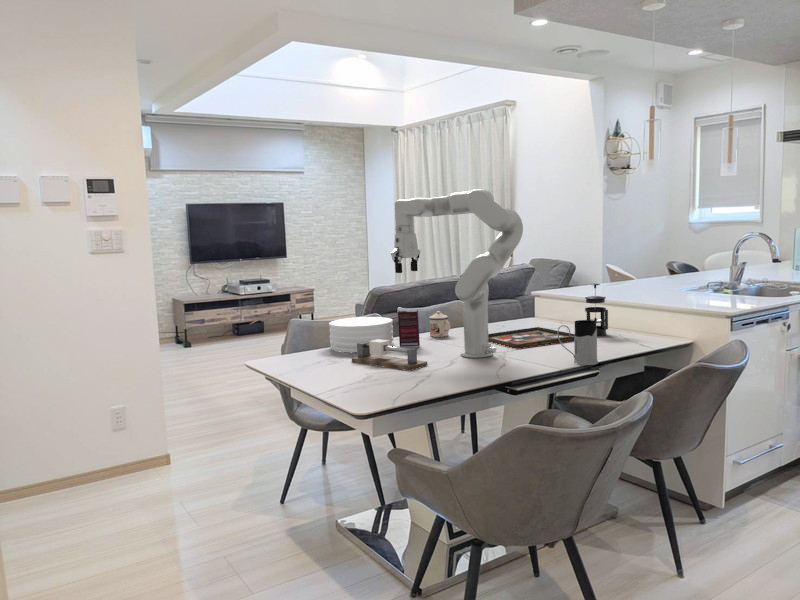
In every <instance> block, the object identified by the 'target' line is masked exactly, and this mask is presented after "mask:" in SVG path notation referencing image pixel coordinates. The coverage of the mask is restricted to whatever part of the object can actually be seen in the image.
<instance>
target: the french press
mask: <svg viewBox="0 0 800 600" xmlns="http://www.w3.org/2000/svg"><path fill="white" fill-rule="evenodd" d="M590 286H593V288H594V295H590V296H585V297H584V299H585V303H587V304H594V306H589V307H585V308H584V312H585V313H586V320H593V321H596V324H600V325H596V327H597V337H605V336H607V330H609V310H608V309H607V308H606V307H602V306H597V304H602V303H605V301H606V298H607V297H606V296H601V295H596V291H597V286H601V284H599V283H591V284H590ZM591 313H594V318H592V319H591ZM597 313H600V319H599V318H597Z"/></svg>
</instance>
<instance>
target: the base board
mask: <svg viewBox="0 0 800 600" xmlns="http://www.w3.org/2000/svg"><path fill="white" fill-rule="evenodd" d="M351 362H352V363H355V362H357V363H356V364H362V363H364V364H363V365H369V364H371V365H370V366H375V365H377V367H382V366H384V367H383V368H389V367H390V368H391V369H395V368H397V369H398V370H402V369H405V370H404V371H409V370H411V371H413V370H412V369H414V370H417V369H420V368H419V367H421V368H423V367H422V366H424V367H427V366H428V361H426V360H419V359H417V363H414V364H408V358H403V357H396V356H388V355H374V354H371V356H368V357H364V358H361V357H358V356H355V357H351ZM426 365H427V366H426ZM416 368H417V369H416Z"/></svg>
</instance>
